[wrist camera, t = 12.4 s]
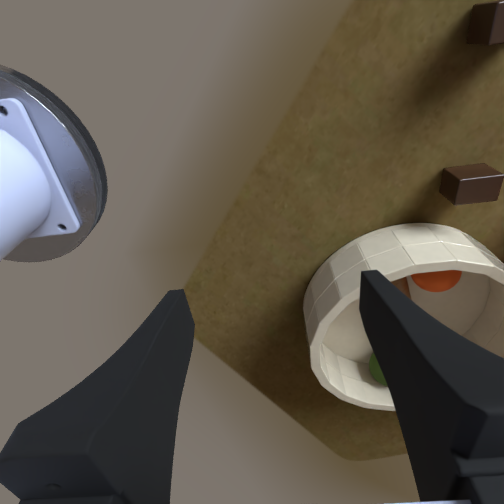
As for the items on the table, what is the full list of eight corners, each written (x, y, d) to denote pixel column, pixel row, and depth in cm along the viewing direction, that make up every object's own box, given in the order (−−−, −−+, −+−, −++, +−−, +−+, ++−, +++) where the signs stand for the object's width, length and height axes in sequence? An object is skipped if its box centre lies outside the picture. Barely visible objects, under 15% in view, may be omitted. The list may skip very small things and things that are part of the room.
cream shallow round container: (306, 369, 31) (314, 416, 27) (297, 235, 23) (305, 275, 19) (470, 356, 30) (501, 403, 26) (519, 210, 22) (574, 247, 18)
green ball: (401, 399, 25) (362, 382, 27) (403, 385, 28) (367, 370, 29) (413, 362, 25) (372, 347, 26) (413, 351, 28) (376, 338, 29)
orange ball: (397, 287, 23) (407, 259, 24) (442, 308, 22) (450, 277, 23) (416, 258, 20) (426, 230, 22) (468, 281, 19) (474, 249, 21)
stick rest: (478, 187, 21) (497, 201, 19) (438, 192, 21) (454, 206, 19) (526, -4, 16) (558, -8, 14) (472, 4, 16) (497, 1, 14)
